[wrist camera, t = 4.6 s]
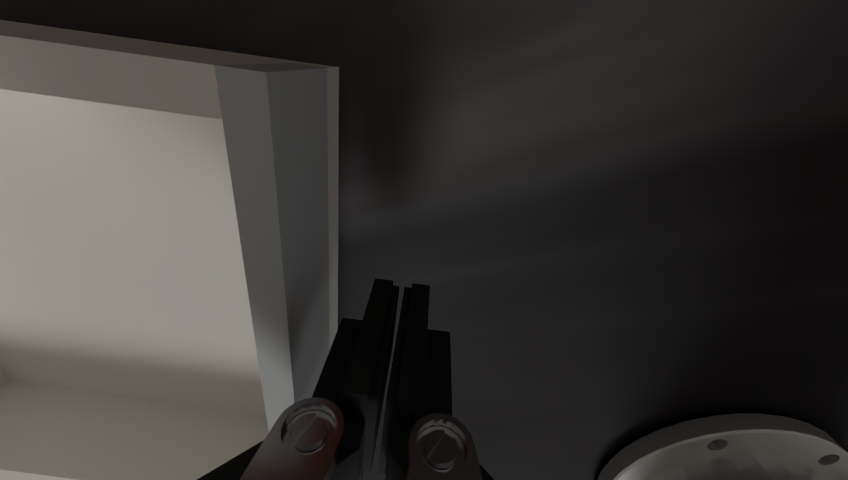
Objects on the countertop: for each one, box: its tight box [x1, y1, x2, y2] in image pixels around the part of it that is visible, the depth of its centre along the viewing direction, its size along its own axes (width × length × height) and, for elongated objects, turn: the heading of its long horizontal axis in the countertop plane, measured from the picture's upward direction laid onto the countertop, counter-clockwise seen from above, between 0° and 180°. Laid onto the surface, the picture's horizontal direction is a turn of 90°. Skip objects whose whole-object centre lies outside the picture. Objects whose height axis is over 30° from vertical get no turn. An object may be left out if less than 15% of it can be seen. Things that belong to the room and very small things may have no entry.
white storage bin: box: [0, 20, 339, 480], centre depth 11 cm, size 14×14×6 cm
